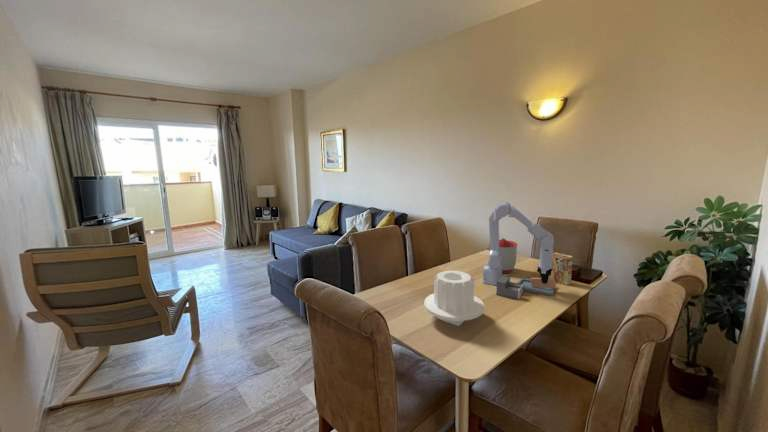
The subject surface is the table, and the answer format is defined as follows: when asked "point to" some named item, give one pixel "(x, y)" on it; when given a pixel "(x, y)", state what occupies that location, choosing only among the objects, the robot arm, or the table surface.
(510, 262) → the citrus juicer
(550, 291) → the tray
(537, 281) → the long salmon pink stick
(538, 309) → the table surface
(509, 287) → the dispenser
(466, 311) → the ribbed cylinder on disc
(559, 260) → the candy box
